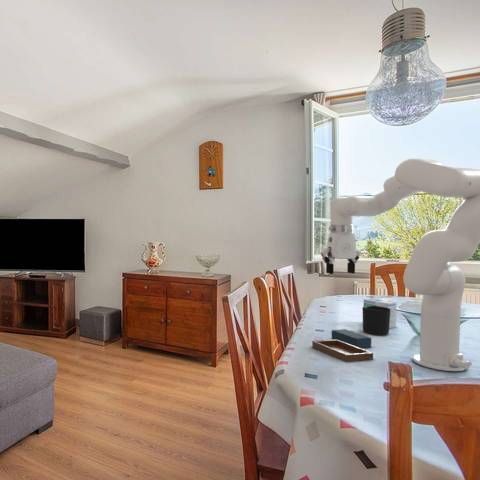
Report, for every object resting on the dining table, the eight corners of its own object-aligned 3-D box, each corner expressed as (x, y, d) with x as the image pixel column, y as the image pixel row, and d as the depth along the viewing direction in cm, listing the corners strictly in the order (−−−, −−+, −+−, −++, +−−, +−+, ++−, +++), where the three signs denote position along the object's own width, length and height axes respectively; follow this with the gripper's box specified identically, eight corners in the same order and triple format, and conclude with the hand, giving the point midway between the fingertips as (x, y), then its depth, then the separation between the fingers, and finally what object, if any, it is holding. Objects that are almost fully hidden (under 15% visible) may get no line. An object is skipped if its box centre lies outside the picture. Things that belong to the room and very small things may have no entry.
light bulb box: (362, 323, 176) (362, 298, 176) (372, 321, 179) (372, 297, 179) (387, 328, 167) (387, 303, 166) (397, 327, 170) (397, 301, 169)
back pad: (371, 347, 141) (371, 337, 141) (356, 348, 140) (357, 338, 140) (345, 338, 153) (345, 329, 153) (331, 339, 151) (331, 330, 151)
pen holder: (393, 336, 155) (394, 311, 155) (366, 335, 157) (367, 309, 157) (383, 330, 164) (384, 306, 164) (358, 329, 166) (359, 305, 166)
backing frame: (373, 359, 128) (373, 352, 128) (346, 361, 126) (346, 355, 126) (336, 345, 144) (336, 339, 143) (312, 347, 141) (312, 341, 141)
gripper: (329, 229, 151) (328, 275, 152) (367, 229, 155) (366, 273, 156) (315, 229, 159) (314, 272, 159) (352, 229, 162) (351, 271, 163)
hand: (340, 273), depth 157 cm, fingers open, 9 cm apart
